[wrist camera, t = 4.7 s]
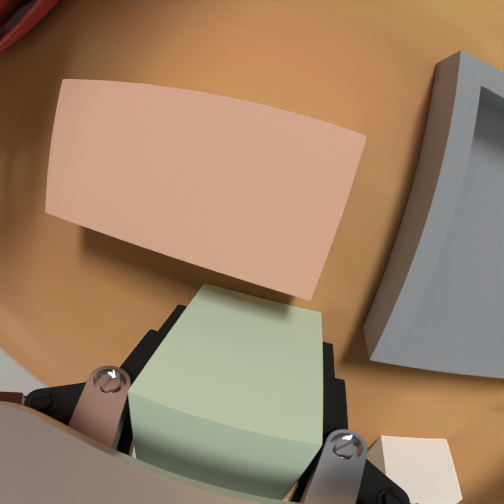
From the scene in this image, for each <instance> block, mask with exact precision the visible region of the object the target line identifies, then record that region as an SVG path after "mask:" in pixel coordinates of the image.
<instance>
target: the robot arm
mask: <svg viewBox="0 0 504 504" xmlns="http://www.w3.org/2000/svg"><path fill="white" fill-rule="evenodd" d="M186 308H187V307H186V306H183V305H178V306H177V307H176V308H175V310H174V311H173V312H172V314H171V315H170V316H169V318H168V319H167V320H166V321H165V323H164V324H163V325H162V327H161V328H160V329H159V331H155V330H152V329H151V330H149V331H148V332H147V334H146V335H145V336H144V337H143V339H142V340H141V341H140V343H139V344H138V345H137V346H136V348H135V349H134V350H133V351H132V353H131V354H130V355H129V356H128V358H127V359H126V360H125V361H124V363H123V364H122V365H121V367H120V368H118V367H115V366H102V367H100V368H97V369H96V370H94V371H93V372H92V373H91V375H90V376H89V378H88V381H87V382H85V383H79V384H72V385H65V386H57V387H50V388H42V389H37V390H34V391H32V392H30V393H29V394H28V395H27V396H24V395H23V393H18V392H0V504H411V503H410V499H409V497H408V495H407V493H406V492H405V491H404V490H403V489H402V488H401V487H399V486H398V485H397V484H396V483H394V482H393V481H392V480H391V479H390V478H389V477H387V476H386V475H385V474H384V473H383V472H381V471H380V470H379V469H378V468H377V467H376V466H374V465H373V464H372V463H371V462H370V461H369V460H368V459H366V456H367V444H366V442H365V440H364V439H363V438H362V437H361V436H360V435H359V434H357V433H355V432H353V431H351V430H348V418H347V403H346V390H345V381H344V380H343V379H337V378H335V372H334V355H333V344H330V343H326V342H322V344H323V435H322V446H321V448H320V449H319V451H318V452H317V454H316V455H315V457H314V458H313V460H312V461H311V462H310V464H309V465H308V467H307V468H306V470H305V471H304V472H303V474H302V475H301V476H300V478H299V479H298V481H297V483H296V485H295V487H294V490H293V492H292V494H291V496H290V499H289V501H282V500H276V499H271V498H265V497H260V496H255V495H250V494H246V493H241V492H237V491H233V490H229V489H225V488H221V487H217V486H214V485H210V484H206V483H203V482H200V481H196V480H193V479H190V478H187V477H184V476H181V475H178V474H175V473H172V472H169V471H166V470H163V469H161V468H158V467H155V466H153V465H150V464H148V463H145V462H143V461H140V460H138V459H135V458H133V457H132V452H133V448H134V439H133V432H132V424H131V416H130V407H129V398H128V390H129V389H130V387H131V386H132V384H133V383H134V381H135V380H136V378H137V377H138V376H139V374H140V373H141V371H142V370H143V368H144V367H145V366H146V364H147V363H148V361H149V360H150V358H151V357H152V356H153V354H154V353H155V351H156V350H157V348H158V347H159V346H160V344H161V343H162V341H163V340H164V339H165V337H166V336H167V334H168V333H169V331H170V330H171V329H172V327H173V326H174V324H175V323H176V322H177V320H178V319H179V317H180V316H181V315H182V313H183V312H184V310H185V309H186ZM415 504H418V503H415Z"/></svg>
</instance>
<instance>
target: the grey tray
mask: <svg viewBox="0 0 504 504" xmlns="http://www.w3.org/2000/svg"><path fill="white" fill-rule="evenodd" d="M363 333H364V337H365V341H366V346H367V351H368V355H369V360H371V361H377V362H382V363H388V364H394V365H400V366H406V367H412V368H419V369H426V370H433V371H440V372H448V373H456V374H464V375H473V376H483V377H494V378H504V74H503V73H501V72H500V71H498V70H496V69H495V68H493V67H491V66H489V65H488V64H486V63H484V62H482V61H480V60H479V59H477V58H475V57H473V56H471V55H469V54H467V53H465V52H463V51H461V50H460V51H459V52H457V53H455V54H453V55H451V56H449V57H448V58H446V59H444V60H442V61H440V62H439V63H437V64H436V70H435V77H434V84H433V91H432V97H431V103H430V108H429V114H428V119H427V124H426V129H425V134H424V138H423V143H422V148H421V152H420V156H419V160H418V164H417V169H416V172H415V176H414V180H413V184H412V188H411V191H410V195H409V198H408V202H407V205H406V209H405V212H404V216H403V219H402V222H401V225H400V228H399V232H398V235H397V238H396V241H395V244H394V247H393V250H392V253H391V256H390V258H389V261H388V264H387V267H386V270H385V272H384V275H383V278H382V281H381V283H380V286H379V288H378V291H377V294H376V296H375V299H374V301H373V304H372V306H371V309H370V311H369V313H368V316H367V318H366V321H365V323H364V325H363Z"/></svg>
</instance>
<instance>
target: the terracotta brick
mask: <svg viewBox="0 0 504 504" xmlns="http://www.w3.org/2000/svg"><path fill="white" fill-rule="evenodd" d="M366 138H367V136H365V135H362V134H360V133H357V132H354V131H351V130H348V129H345V128H342V127H339V126H336V125H333V124H330V123H327V122H324V121H320V120H317V119H314V118H310V117H307V116H304V115H300V114H297V113H293V112H289V111H286V110H282V109H278V108H274V107H270V106H266V105H262V104H258V103H254V102H249V101H245V100H240V99H235V98H231V97H226V96H221V95H215V94H210V93H205V92H199V91H193V90H187V89H180V88H173V87H166V86H158V85H150V84H141V83H130V82H119V81H104V80H83V79H63V80H62V84H61V89H60V94H59V98H58V103H57V109H56V114H55V120H54V126H53V133H52V140H51V147H50V155H49V165H48V176H47V189H46V209H45V213H48V214H51V215H53V216H56V217H59V218H62V219H64V220H67V221H70V222H73V223H75V224H78V225H81V226H84V227H86V228H89V229H92V230H95V231H98V232H101V233H103V234H106V235H109V236H112V237H115V238H118V239H120V240H123V241H126V242H129V243H132V244H135V245H138V246H141V247H144V248H147V249H150V250H153V251H155V252H158V253H161V254H164V255H167V256H170V257H173V258H176V259H179V260H182V261H185V262H188V263H191V264H194V265H198V266H201V267H204V268H207V269H210V270H213V271H216V272H219V273H222V274H225V275H228V276H232V277H235V278H238V279H241V280H244V281H247V282H251V283H254V284H257V285H260V286H263V287H267V288H270V289H273V290H276V291H280V292H283V293H286V294H289V295H293V296H296V297H299V298H303V299H306V300H309V301H311V298H312V296H313V293H314V291H315V288H316V285H317V283H318V280H319V278H320V275H321V272H322V270H323V267H324V264H325V262H326V259H327V256H328V253H329V251H330V248H331V245H332V242H333V240H334V237H335V234H336V231H337V228H338V225H339V222H340V220H341V217H342V214H343V211H344V208H345V205H346V202H347V199H348V196H349V193H350V190H351V186H352V183H353V180H354V177H355V174H356V171H357V168H358V164H359V161H360V158H361V154H362V151H363V148H364V144H365V141H366Z"/></svg>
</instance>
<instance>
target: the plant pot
mask: <svg viewBox="0 0 504 504" xmlns="http://www.w3.org/2000/svg"><path fill="white" fill-rule="evenodd" d="M58 1H59V0H0V52H2V51H4V50H5V49H7V48H9V47H10V46H11V45H13V44H14V43H15V42H17V41H18V40H19V39H21V38H22V37H23V36H24V35H25V34H27V33H28V32H29V31H30V30H31V29H32V28H33V27H34V26H35V25H36V24H37V23H38V22H39V21H40V20H41V19H42V18H43V17H44V16H45V15H46V14H47V13H48V12H49V11H50V10H51V9H52V8H53V7H54V5H55V4H56V3H57V2H58Z"/></svg>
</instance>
